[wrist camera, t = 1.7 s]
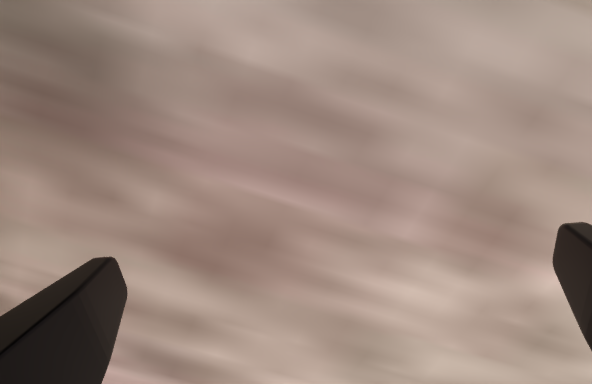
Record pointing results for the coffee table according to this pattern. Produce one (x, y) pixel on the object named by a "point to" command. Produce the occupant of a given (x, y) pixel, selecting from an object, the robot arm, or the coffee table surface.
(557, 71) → the coffee table surface
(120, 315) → the robot arm
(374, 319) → the coffee table surface
